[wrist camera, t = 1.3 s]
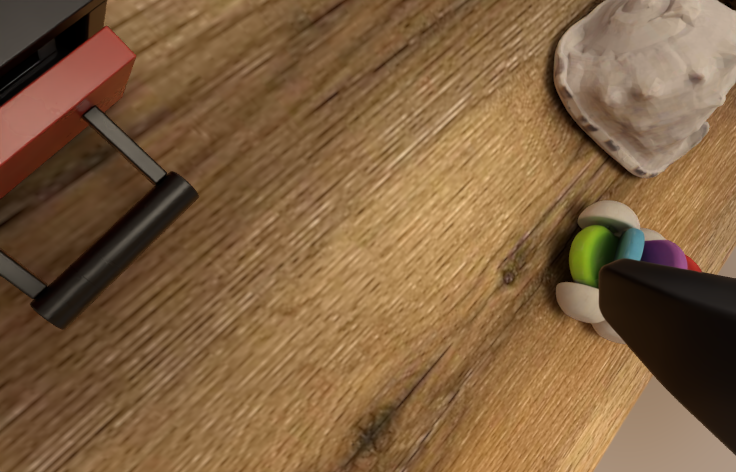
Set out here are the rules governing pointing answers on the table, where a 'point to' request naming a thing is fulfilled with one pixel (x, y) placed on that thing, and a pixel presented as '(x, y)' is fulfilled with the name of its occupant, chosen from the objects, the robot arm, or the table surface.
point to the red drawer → (53, 131)
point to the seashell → (647, 76)
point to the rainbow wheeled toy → (610, 259)
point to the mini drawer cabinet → (44, 30)
